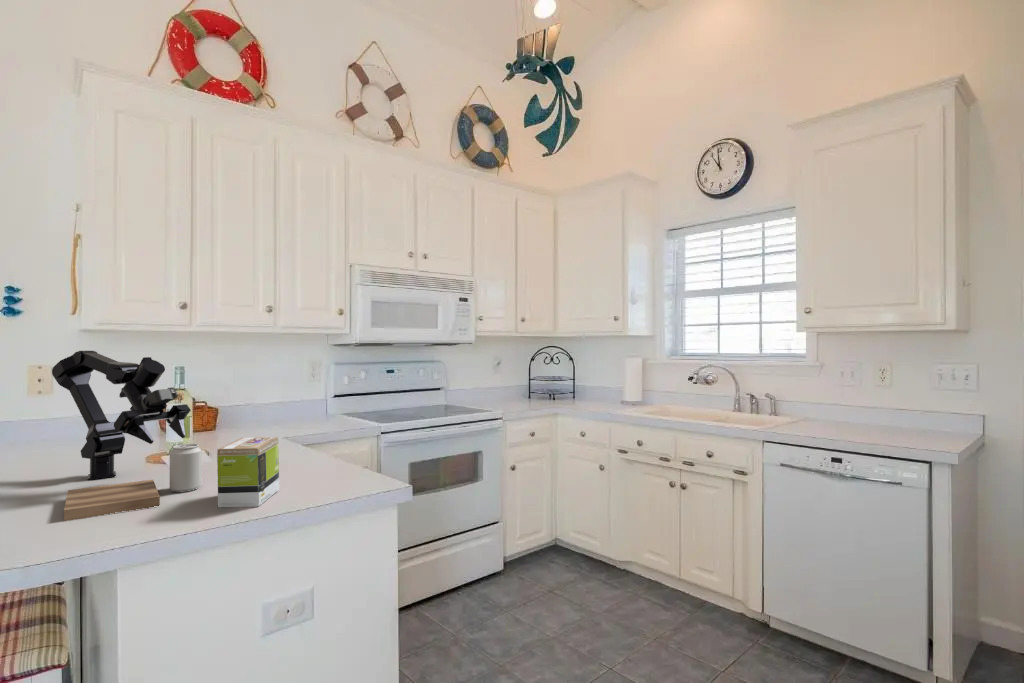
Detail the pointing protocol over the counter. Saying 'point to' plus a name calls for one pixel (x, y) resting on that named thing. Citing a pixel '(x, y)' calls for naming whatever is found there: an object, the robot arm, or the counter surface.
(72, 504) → the brown wooden slab
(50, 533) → the counter surface
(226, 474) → the tea box
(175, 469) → the can
